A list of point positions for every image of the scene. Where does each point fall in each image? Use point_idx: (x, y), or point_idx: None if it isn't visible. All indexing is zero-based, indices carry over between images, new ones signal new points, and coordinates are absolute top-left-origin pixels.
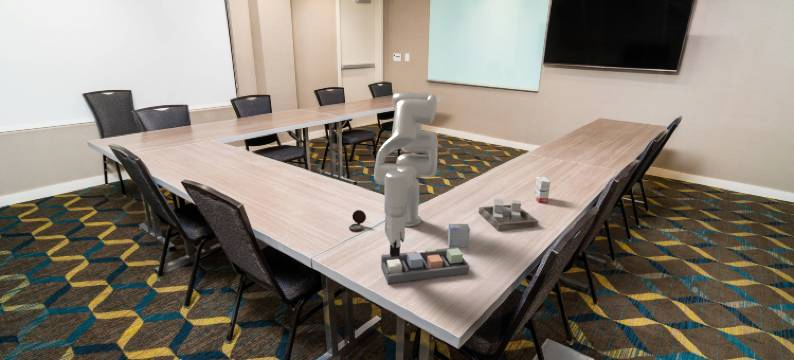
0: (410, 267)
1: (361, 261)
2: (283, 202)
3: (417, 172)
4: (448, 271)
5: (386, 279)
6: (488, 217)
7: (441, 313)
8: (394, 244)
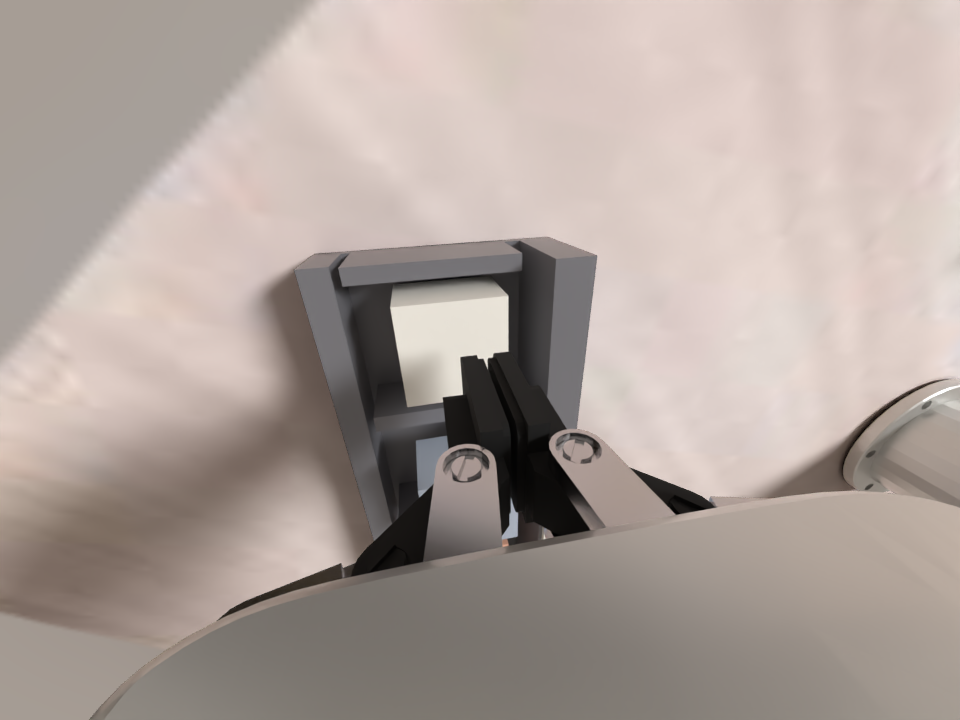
0: (418, 443)
1: (677, 75)
2: None
3: None
4: None
5: (364, 251)
6: None
7: (21, 517)
8: (365, 572)
